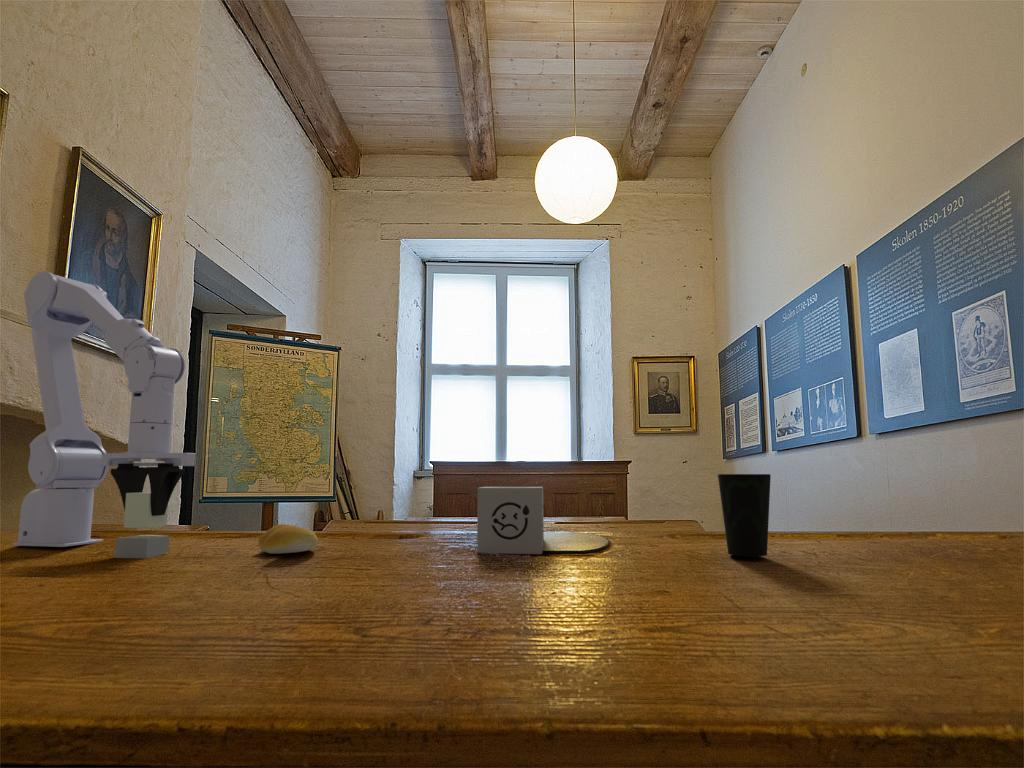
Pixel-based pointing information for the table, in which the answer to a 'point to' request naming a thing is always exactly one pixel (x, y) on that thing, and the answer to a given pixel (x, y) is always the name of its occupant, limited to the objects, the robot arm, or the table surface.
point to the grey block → (141, 546)
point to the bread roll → (287, 539)
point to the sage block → (141, 512)
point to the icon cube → (510, 520)
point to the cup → (745, 512)
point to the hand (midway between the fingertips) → (144, 515)
